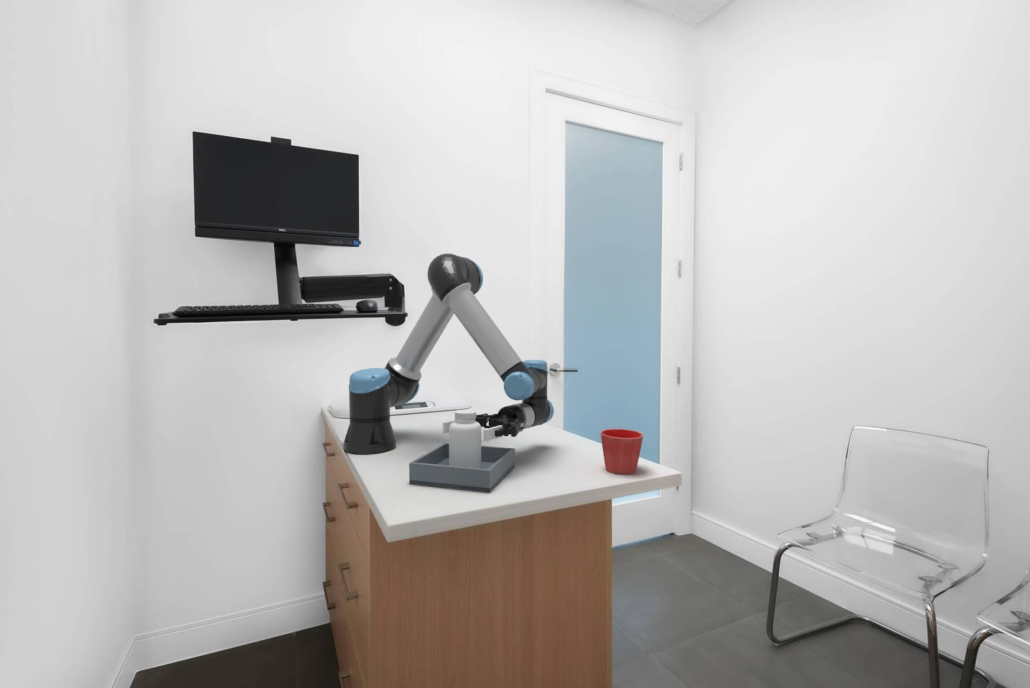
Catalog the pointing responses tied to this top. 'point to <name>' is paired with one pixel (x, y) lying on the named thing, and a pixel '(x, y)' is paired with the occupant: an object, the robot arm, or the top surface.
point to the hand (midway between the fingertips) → (463, 431)
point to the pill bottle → (465, 440)
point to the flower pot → (621, 450)
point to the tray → (462, 469)
